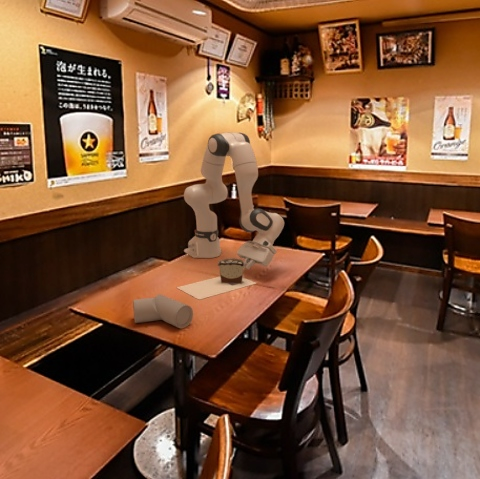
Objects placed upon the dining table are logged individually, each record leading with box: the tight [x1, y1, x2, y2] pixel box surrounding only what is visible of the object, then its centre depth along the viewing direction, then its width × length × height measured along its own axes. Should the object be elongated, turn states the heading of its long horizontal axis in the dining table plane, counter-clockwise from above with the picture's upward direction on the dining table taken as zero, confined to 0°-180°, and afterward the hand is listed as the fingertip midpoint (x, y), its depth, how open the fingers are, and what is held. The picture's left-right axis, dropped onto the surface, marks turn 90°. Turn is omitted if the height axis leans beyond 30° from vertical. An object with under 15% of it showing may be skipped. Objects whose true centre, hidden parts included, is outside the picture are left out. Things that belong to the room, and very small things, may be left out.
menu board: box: [176, 276, 257, 301], centre depth 202 cm, size 18×31×1 cm, turn 129°
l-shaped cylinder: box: [132, 293, 194, 329], centre depth 164 cm, size 18×11×20 cm
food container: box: [217, 258, 245, 284], centre depth 206 cm, size 12×6×10 cm, turn 84°
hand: (245, 268), depth 210 cm, fingers closed
